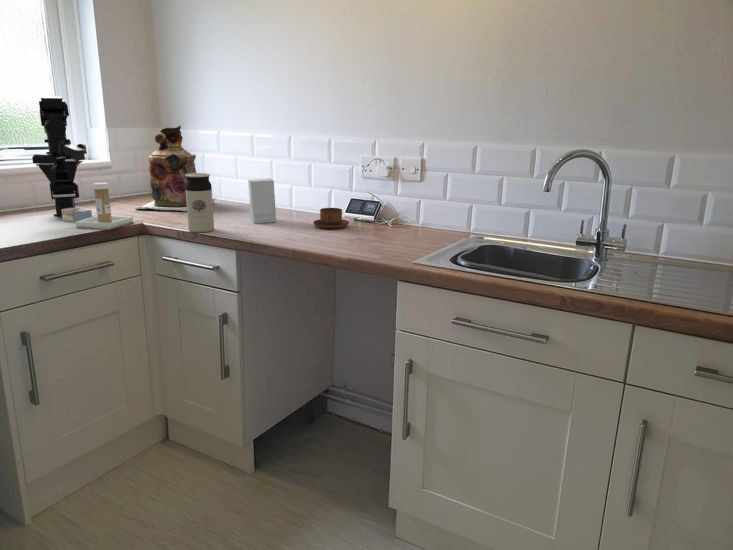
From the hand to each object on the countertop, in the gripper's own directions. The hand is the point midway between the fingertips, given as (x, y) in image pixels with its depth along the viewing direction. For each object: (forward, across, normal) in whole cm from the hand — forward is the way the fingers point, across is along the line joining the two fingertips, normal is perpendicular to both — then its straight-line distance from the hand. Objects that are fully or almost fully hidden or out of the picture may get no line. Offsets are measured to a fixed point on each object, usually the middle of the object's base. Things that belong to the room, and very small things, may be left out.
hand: (63, 183), depth 193 cm
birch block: (+13, +2, 0) cm, 13 cm away
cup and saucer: (+13, +10, -92) cm, 93 cm away
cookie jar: (+13, +38, -21) cm, 45 cm away
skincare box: (+13, +14, -66) cm, 69 cm away
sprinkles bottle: (+13, -4, -17) cm, 21 cm away
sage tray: (+13, -4, -17) cm, 22 cm away
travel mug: (+13, -5, -52) cm, 54 cm away
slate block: (+13, 0, -6) cm, 14 cm away
